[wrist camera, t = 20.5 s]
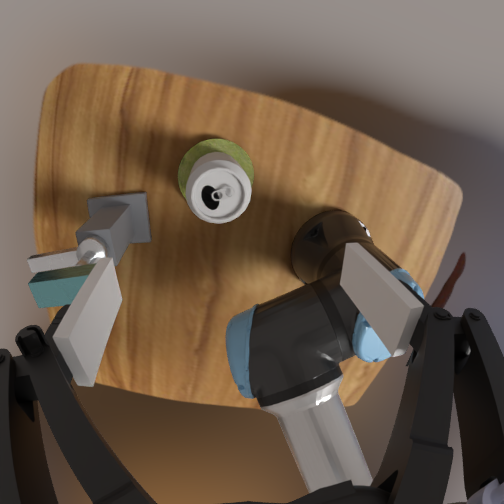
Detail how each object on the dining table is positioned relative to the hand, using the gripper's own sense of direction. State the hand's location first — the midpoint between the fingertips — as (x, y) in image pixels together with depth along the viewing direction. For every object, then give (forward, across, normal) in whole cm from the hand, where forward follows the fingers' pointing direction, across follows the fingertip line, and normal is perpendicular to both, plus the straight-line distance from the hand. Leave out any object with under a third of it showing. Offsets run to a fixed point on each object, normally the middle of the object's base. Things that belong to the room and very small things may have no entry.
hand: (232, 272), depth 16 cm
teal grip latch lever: (+18, +19, +6) cm, 27 cm away
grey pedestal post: (+31, +16, +6) cm, 35 cm away
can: (+29, 0, 0) cm, 29 cm away
